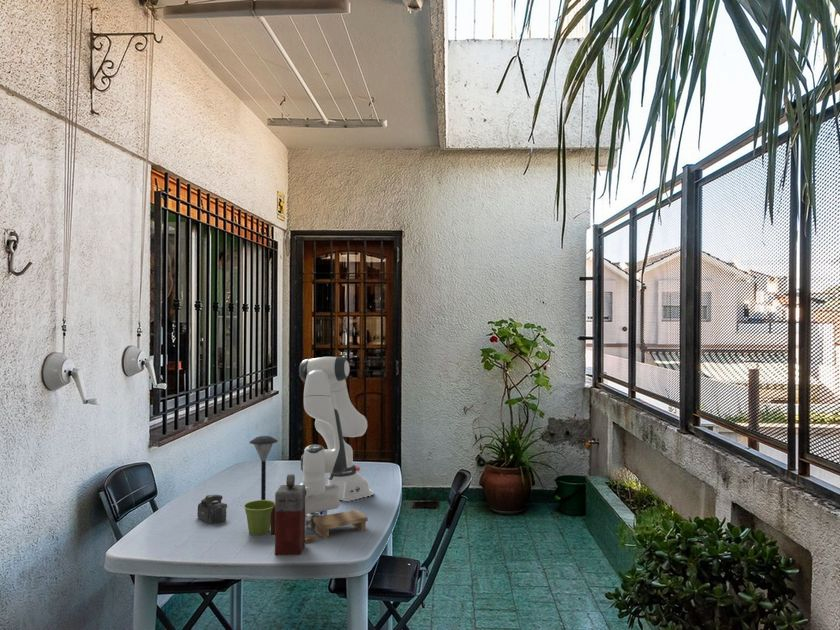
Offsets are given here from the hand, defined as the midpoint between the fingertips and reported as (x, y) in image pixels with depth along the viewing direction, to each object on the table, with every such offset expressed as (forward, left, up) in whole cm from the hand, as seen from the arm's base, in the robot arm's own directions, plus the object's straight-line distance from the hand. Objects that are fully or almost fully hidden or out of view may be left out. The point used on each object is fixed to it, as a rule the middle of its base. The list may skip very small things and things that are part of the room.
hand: (314, 523), depth 227 cm
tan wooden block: (+7, +15, -2) cm, 17 cm away
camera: (+33, -29, -2) cm, 44 cm away
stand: (-7, +10, -2) cm, 12 cm away
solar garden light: (+10, -35, -2) cm, 36 cm away
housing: (0, 0, -2) cm, 2 cm away
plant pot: (+20, -4, -2) cm, 21 cm away
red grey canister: (+17, +20, -2) cm, 27 cm away
